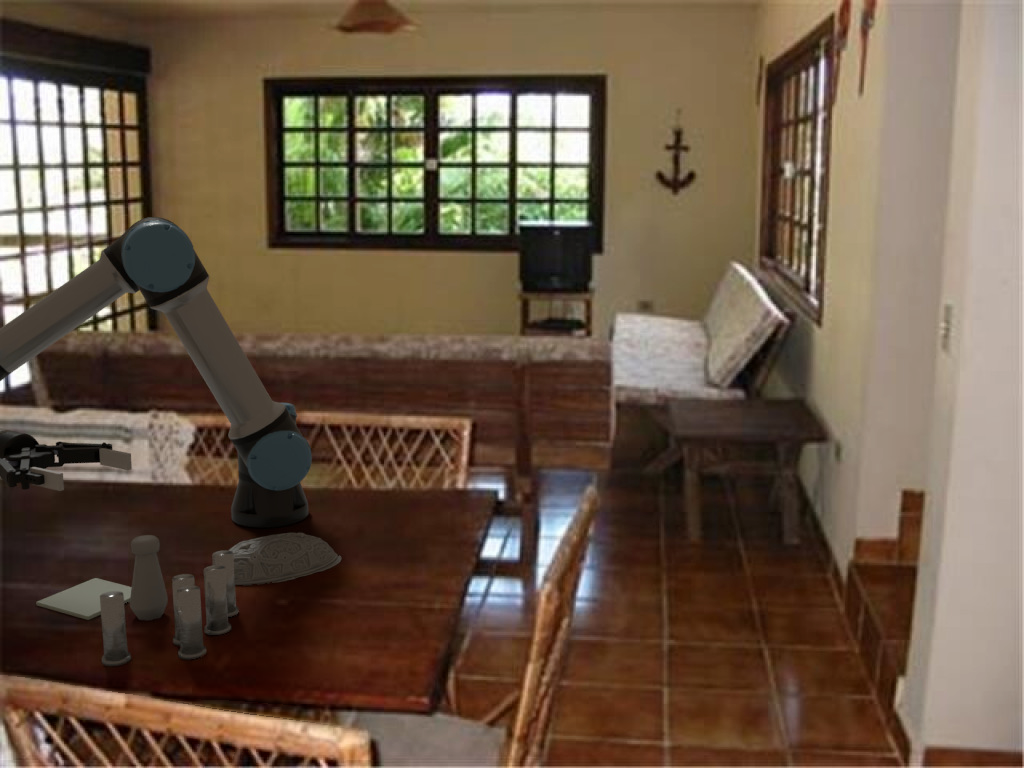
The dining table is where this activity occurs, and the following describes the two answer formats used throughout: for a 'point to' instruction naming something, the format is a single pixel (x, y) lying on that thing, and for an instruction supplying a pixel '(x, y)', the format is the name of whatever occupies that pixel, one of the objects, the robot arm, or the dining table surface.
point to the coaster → (83, 598)
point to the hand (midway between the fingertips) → (96, 471)
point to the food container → (281, 558)
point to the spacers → (178, 612)
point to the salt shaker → (147, 579)
